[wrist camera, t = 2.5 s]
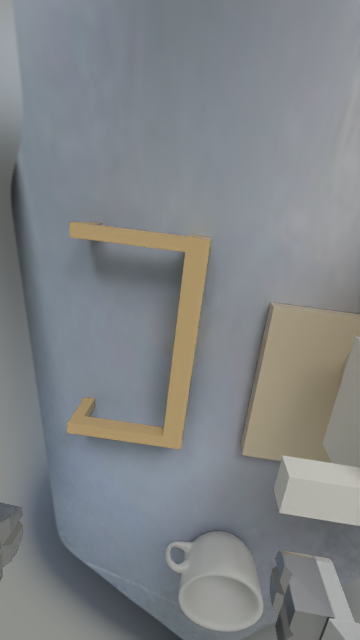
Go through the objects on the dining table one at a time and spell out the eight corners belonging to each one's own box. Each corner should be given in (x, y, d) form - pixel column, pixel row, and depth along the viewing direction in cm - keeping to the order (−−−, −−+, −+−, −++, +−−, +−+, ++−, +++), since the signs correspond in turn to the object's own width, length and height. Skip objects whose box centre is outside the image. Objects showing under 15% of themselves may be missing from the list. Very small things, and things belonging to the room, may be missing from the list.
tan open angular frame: (84, 406, 30) (67, 432, 27) (89, 221, 25) (69, 222, 21) (184, 420, 30) (181, 449, 26) (210, 237, 25) (211, 240, 21)
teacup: (270, 541, 34) (281, 599, 28) (230, 582, 36) (233, 643, 31) (188, 497, 33) (184, 549, 28) (153, 542, 35) (143, 598, 30)
